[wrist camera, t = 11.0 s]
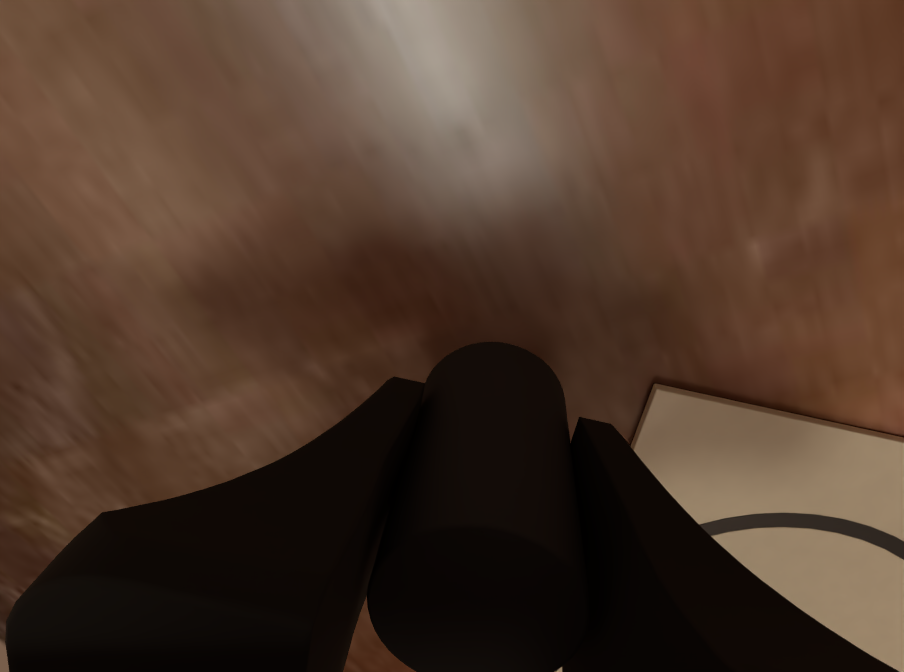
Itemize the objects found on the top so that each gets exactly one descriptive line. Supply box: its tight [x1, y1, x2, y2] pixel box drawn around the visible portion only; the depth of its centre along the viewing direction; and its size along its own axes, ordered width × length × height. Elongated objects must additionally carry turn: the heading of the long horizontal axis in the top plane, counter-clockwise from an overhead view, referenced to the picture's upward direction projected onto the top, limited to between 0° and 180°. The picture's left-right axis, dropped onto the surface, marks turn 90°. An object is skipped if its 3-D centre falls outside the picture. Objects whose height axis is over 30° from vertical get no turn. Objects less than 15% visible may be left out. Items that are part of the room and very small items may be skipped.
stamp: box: [367, 342, 591, 672], centre depth 11 cm, size 3×3×6 cm
